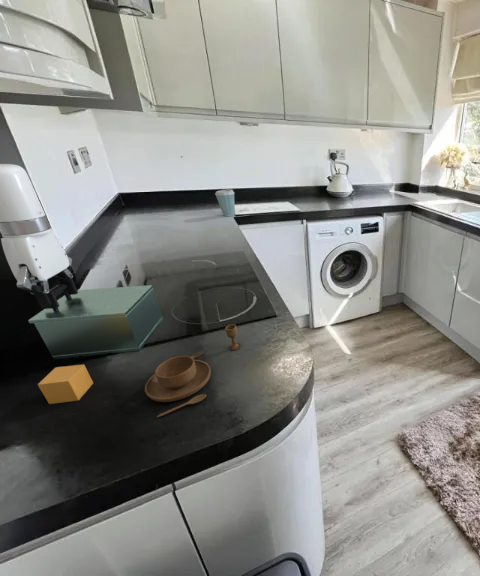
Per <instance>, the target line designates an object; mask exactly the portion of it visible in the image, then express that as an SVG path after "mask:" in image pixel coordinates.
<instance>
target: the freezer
mask: <svg viewBox="0 0 480 576" xmlns="http://www.w3.org/2000/svg"><path fill="white" fill-rule="evenodd" d="M163 321H164V316H163V313H162V311H161V307H160V304H159V301H158V298H157V295H156V293H155V289H154V287H153V288H152V289H151V290H150V291H149V292H148V293H147V294H146V295H145V296H144V297H143V298H142V300H141V301H140V302H139V303H138V304H137V305H136V306H135V307H134V308H133V309H132V310H131V311H130V312H129V313H128V314H127V315H125V316H113V317H101V318H89V319H77V320H65V321H53V322H41V323H33V324H34V326H35V328H36V330H37V332H38V333H39V336H40V337H41V339H42V340H43V342H44V344H45V346H46V348H47V350H48V352H49V354H50V355H51V358H52V359H53V360H62V359H72V358H71V357H73V358H80V357H79V356H83V357H91V356H102V355H109V354H108V353H112V354H121V353H132V352H141V350H142V349H143V347H144V346H145V344H146V343H147V342H148V341H149V339H150V338H151V337H150V336H152V335H153V334H154V333H155V331H156V330H157V328H158V327H159V326H160V325H161V323H162V322H163ZM153 332H154V333H153ZM147 340H148V341H147Z"/></svg>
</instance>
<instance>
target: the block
mask: <svg viewBox="0 0 480 576" xmlns="http://www.w3.org/2000/svg"><path fill="white" fill-rule="evenodd" d="M93 384H94V381H93V379H92V377H91V375H90V373H89V371H88V370H87V367H86V365H85V364H75V365H74V364H73V365H67V366H57V367H54V368H53V369H52V370H51V371H50V372H49V373H48V374H47V375H46V376H44V378H42V380H40V382H39V383H37V386H38V388H39V390H40V391H41V393H42V395H43V396H44V399H46V401H47V403H48V404H49V405H52V404H53V405H54V404H61V403H69V402H77V401H80V400H81V398H82V397H83V396H84V395H85V394H86V393H87V392H88V390H89V389H90V388H91V387H92V386H93Z"/></svg>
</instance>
